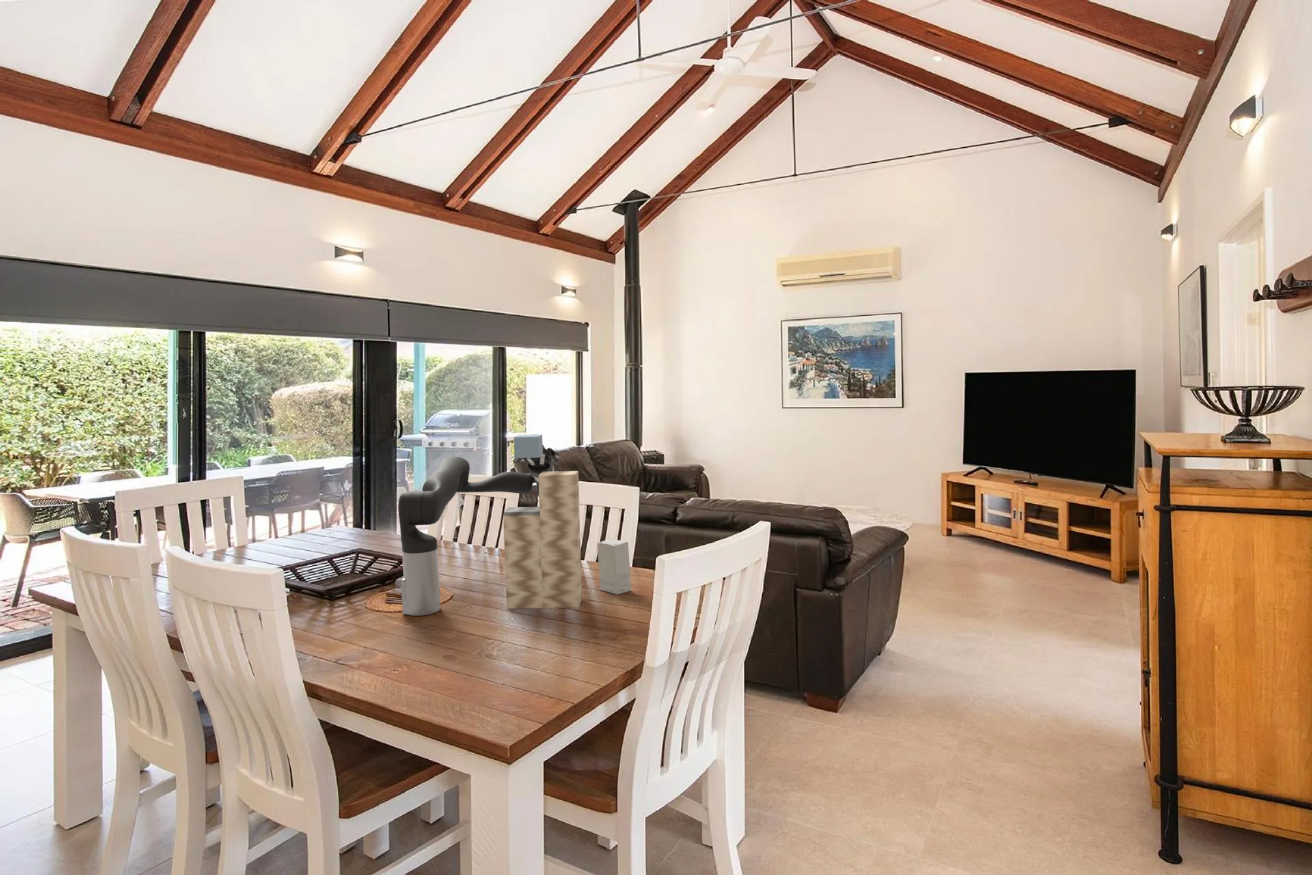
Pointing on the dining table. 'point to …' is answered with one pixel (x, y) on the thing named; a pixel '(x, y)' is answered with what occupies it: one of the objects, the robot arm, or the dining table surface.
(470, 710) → the dining table surface
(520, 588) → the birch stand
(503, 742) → the dining table surface
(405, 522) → the robot arm
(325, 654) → the dining table surface
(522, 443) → the blue handle block
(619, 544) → the skincare box
